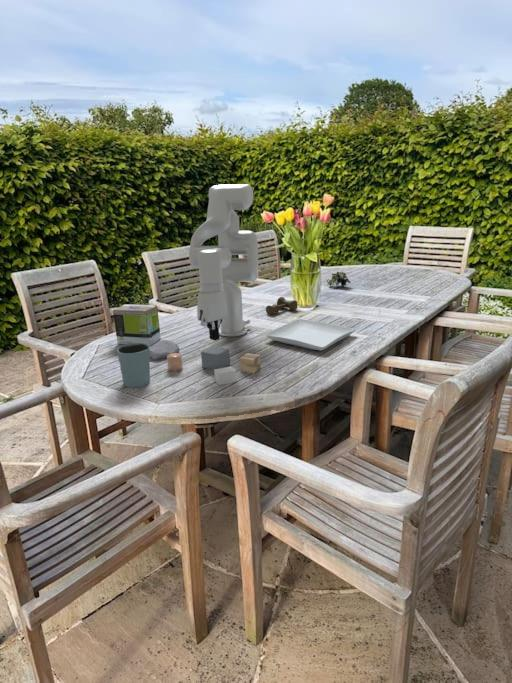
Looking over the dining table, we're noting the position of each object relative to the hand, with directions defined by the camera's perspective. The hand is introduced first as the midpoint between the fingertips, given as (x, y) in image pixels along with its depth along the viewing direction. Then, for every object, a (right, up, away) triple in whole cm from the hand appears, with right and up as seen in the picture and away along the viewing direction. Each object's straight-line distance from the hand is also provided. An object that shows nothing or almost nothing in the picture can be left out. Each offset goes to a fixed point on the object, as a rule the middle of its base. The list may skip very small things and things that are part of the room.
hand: (214, 339), depth 160 cm
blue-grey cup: (-25, -14, -8) cm, 30 cm away
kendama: (+28, +14, +68) cm, 75 cm away
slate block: (0, -9, +3) cm, 10 cm away
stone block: (-21, -6, +15) cm, 27 cm away
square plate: (+37, 0, +28) cm, 46 cm away
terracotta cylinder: (-14, -10, +1) cm, 17 cm away
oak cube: (+13, -11, -1) cm, 16 cm away
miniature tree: (+63, +31, +113) cm, 133 cm away
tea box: (-34, -1, +30) cm, 45 cm away
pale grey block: (+4, -14, -9) cm, 17 cm away
